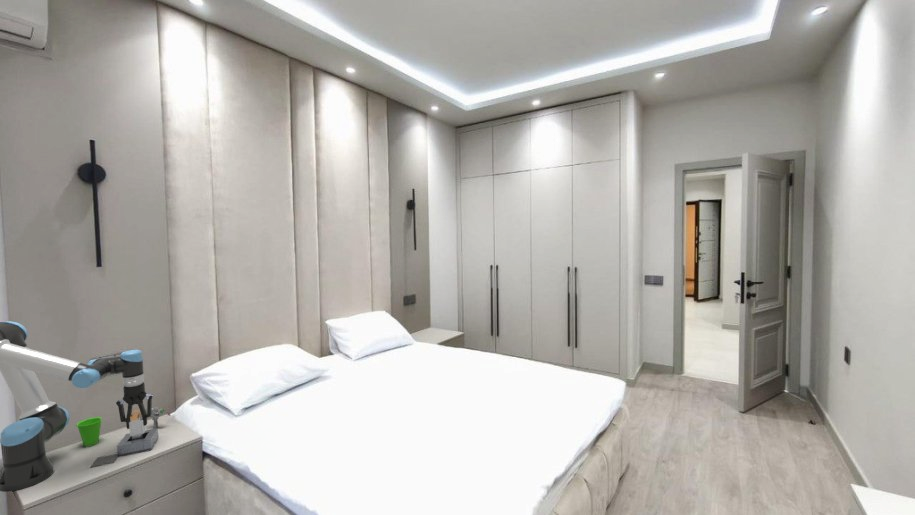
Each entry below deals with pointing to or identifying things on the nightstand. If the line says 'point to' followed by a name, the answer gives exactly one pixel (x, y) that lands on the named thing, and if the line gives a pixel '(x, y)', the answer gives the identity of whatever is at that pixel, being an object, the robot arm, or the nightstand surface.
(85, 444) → the cup
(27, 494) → the nightstand surface
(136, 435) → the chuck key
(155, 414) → the mechanical component
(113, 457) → the mat
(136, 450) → the chuck block
